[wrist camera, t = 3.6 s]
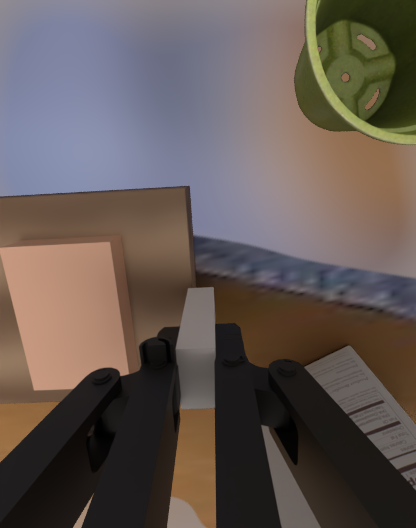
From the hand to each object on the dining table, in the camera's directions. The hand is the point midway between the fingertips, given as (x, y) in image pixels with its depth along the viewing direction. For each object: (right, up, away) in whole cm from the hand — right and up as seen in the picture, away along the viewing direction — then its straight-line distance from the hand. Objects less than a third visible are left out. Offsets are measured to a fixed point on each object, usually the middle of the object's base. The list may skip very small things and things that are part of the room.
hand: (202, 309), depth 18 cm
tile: (-8, 0, +1) cm, 8 cm away
